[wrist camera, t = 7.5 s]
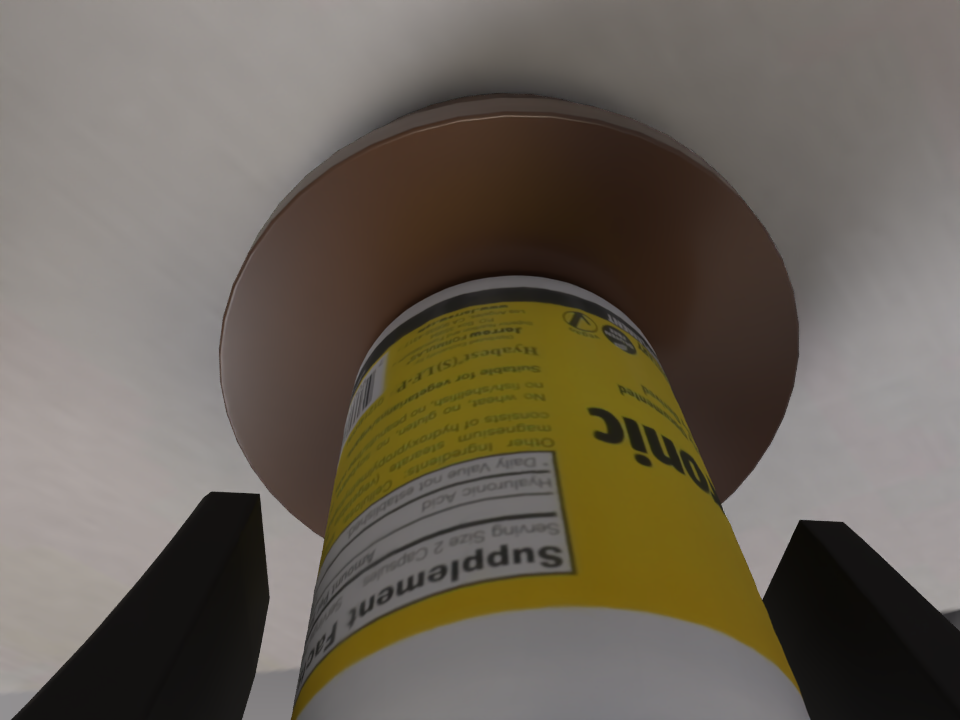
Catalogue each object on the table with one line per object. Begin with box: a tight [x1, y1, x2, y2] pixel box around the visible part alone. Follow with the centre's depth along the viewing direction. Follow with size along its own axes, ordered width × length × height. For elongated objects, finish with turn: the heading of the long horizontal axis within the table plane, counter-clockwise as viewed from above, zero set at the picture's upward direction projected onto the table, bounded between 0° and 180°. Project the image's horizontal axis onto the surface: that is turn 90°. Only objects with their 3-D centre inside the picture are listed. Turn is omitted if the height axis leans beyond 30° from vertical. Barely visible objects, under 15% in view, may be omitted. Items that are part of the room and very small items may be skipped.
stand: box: [219, 93, 799, 539], centre depth 14 cm, size 10×10×3 cm
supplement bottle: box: [291, 276, 811, 720], centre depth 9 cm, size 5×5×10 cm
